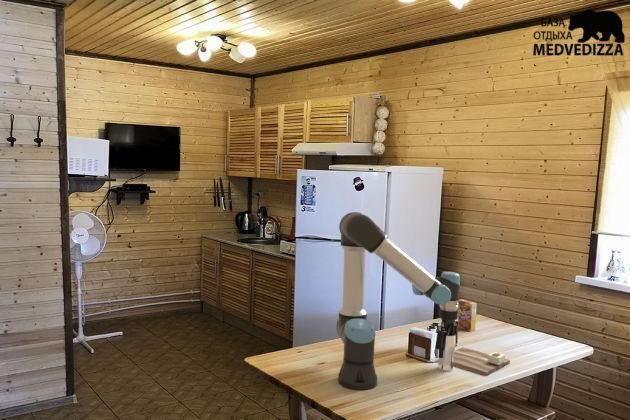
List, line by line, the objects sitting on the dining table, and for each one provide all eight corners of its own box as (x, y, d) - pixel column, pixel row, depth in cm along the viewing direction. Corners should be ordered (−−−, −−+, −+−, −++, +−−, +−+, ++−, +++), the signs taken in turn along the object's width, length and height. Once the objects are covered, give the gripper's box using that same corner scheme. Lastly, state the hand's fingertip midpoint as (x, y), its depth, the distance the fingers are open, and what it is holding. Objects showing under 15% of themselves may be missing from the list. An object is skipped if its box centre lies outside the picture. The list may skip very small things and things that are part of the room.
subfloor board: (486, 375, 217) (486, 372, 217) (438, 360, 232) (438, 357, 232) (509, 363, 233) (509, 360, 232) (463, 350, 248) (463, 346, 248)
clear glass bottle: (454, 372, 219) (456, 336, 218) (437, 370, 220) (439, 335, 219) (453, 366, 226) (455, 332, 225) (436, 364, 227) (438, 330, 226)
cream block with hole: (498, 364, 224) (499, 357, 224) (487, 361, 228) (487, 354, 227) (504, 361, 229) (505, 354, 228) (493, 358, 232) (494, 351, 232)
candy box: (456, 327, 285) (458, 299, 284) (462, 326, 288) (463, 299, 287) (470, 332, 278) (472, 303, 277) (475, 331, 281) (477, 302, 279)
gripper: (444, 314, 212) (441, 371, 213) (468, 307, 226) (465, 360, 227) (428, 310, 217) (425, 365, 219) (452, 303, 231) (449, 355, 232)
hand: (445, 362), depth 223 cm, fingers closed on clear glass bottle, 6 cm apart
